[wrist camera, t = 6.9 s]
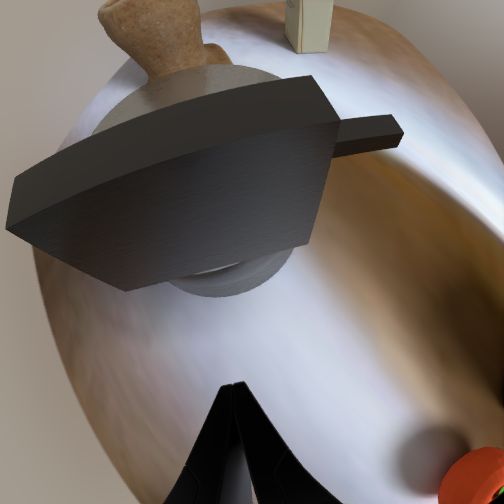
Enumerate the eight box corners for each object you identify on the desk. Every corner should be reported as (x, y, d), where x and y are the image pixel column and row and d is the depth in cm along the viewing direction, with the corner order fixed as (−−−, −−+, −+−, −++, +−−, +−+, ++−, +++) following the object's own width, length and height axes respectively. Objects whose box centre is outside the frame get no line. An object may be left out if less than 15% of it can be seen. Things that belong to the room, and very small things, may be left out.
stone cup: (138, 74, 31) (101, -12, 17) (222, 48, 32) (205, -45, 17) (138, 149, 26) (71, 32, 12) (252, 115, 27) (236, -23, 12)
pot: (401, 247, 21) (450, 199, 13) (154, 314, 21) (97, 293, 13) (342, 126, 25) (357, 62, 18) (139, 175, 25) (101, 120, 18)
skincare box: (284, 35, 32) (282, -37, 21) (314, 33, 32) (317, -36, 21) (297, 55, 30) (298, -27, 18) (329, 53, 30) (337, -25, 18)
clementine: (491, 420, 15) (542, 429, 8) (491, 474, 13) (533, 491, 6) (422, 464, 15) (467, 493, 8) (425, 517, 13) (460, 550, 6)
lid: (364, 236, 13) (445, 112, 5) (87, 308, 13) (-44, 259, 5) (276, 62, 18) (272, -36, 10) (94, 116, 17) (44, 37, 10)
